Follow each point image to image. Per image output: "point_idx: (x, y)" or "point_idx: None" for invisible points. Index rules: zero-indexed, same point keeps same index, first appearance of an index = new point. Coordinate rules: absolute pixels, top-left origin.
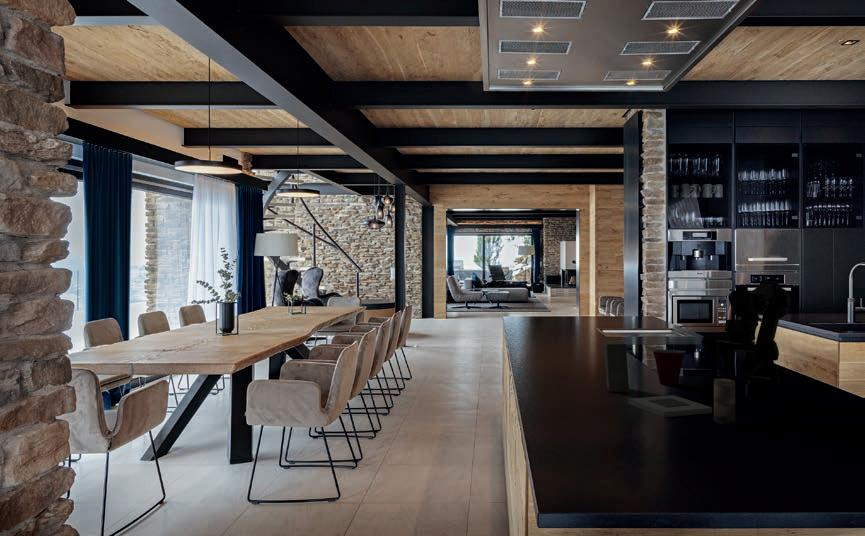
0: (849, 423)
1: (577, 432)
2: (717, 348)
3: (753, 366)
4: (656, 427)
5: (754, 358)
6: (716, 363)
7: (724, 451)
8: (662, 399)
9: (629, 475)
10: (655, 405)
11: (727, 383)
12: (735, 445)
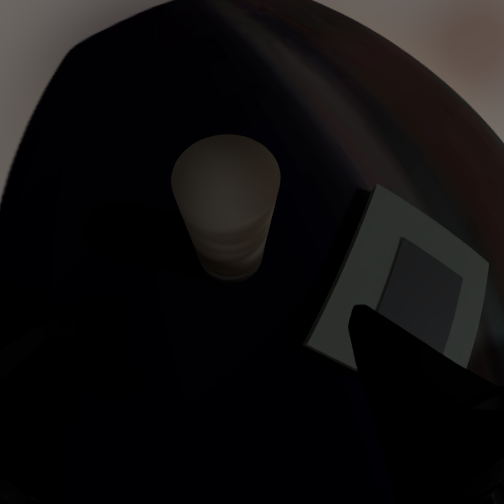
0: None
1: (378, 58)
2: (472, 460)
3: (53, 322)
4: (330, 113)
5: (12, 364)
6: (371, 343)
7: (177, 71)
8: (450, 320)
9: (245, 4)
10: (428, 239)
11: (200, 143)
12: (165, 99)
